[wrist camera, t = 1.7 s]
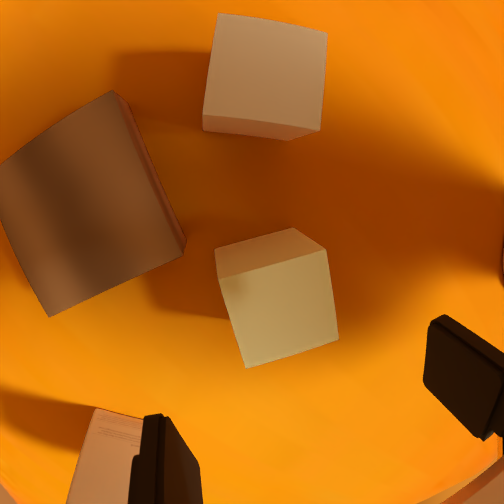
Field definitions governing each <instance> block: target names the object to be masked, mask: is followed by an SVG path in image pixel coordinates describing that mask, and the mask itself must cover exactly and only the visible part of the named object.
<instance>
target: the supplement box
mask: <svg viewBox="0 0 504 504" xmlns="http://www.w3.org/2000/svg"><path fill="white" fill-rule="evenodd" d="M142 426H143V420H142V419H138V418H134V417H130V416H126V415H121V414H118V413H114V412H110V411H107V410H103V409H99V408H96V409H95V410H94V413H93V416H92V418H91V421H90V424H89V427H88V430H87V433H86V436H85V439H84V442H83V445H82V448H81V451H80V455H79V458H78V461H77V465H76V468H75V472H74V475H73V479H72V482H71V486H70V490H69V493H68V497H67V501H66V504H128V493H129V483H130V473H131V465H132V459H133V457H134V455H137V454H139V451H140V442H141V434H142Z"/></svg>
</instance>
